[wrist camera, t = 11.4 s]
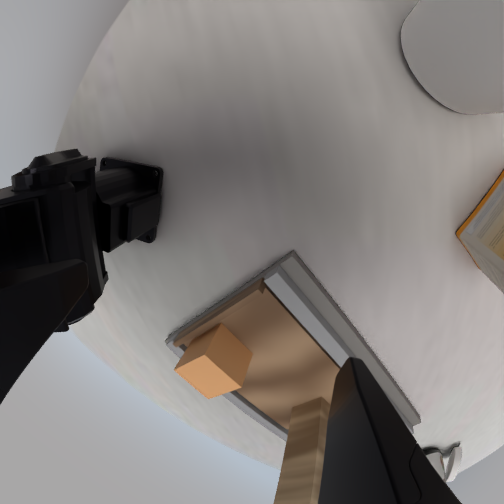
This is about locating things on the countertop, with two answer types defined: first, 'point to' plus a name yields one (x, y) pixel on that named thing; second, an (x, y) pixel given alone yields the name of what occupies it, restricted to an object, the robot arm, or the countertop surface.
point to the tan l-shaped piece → (281, 381)
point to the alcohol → (458, 52)
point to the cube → (215, 362)
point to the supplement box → (487, 234)
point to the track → (320, 327)
